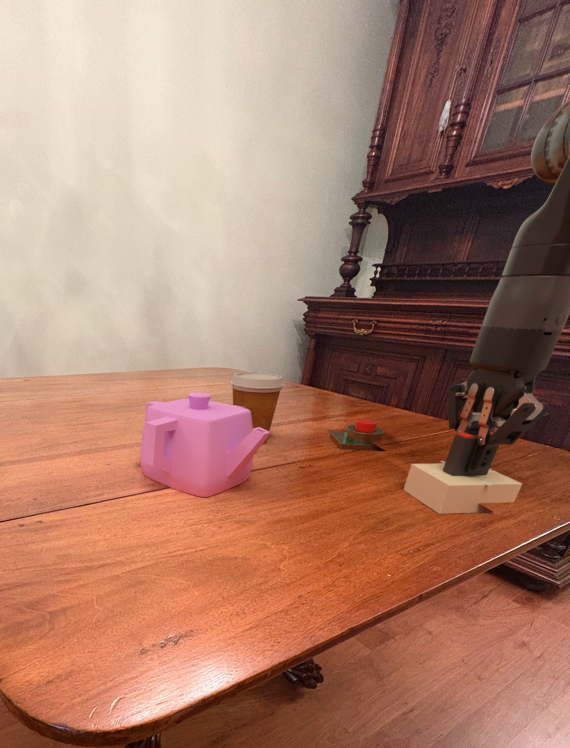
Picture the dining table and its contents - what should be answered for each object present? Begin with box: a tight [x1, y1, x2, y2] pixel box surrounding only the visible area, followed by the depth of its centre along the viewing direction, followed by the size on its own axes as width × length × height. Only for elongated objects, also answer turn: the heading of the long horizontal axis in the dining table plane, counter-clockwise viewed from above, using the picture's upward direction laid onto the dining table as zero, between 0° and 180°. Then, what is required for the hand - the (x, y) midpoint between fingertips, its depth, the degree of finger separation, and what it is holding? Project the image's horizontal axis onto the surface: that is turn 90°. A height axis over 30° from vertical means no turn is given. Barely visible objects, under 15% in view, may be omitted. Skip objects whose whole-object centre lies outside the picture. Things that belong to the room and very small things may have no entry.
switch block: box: [329, 424, 387, 452], centre depth 81 cm, size 10×8×3 cm
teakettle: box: [139, 391, 271, 498], centre depth 62 cm, size 17×17×12 cm
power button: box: [354, 418, 378, 432], centre depth 80 cm, size 4×4×2 cm
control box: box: [403, 460, 523, 515], centre depth 58 cm, size 10×9×4 cm
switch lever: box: [443, 433, 500, 476], centre depth 56 cm, size 5×2×5 cm, turn 96°
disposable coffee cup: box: [230, 371, 285, 446], centre depth 79 cm, size 10×10×12 cm
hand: (466, 468), depth 57 cm, fingers closed on switch lever, 2 cm apart
